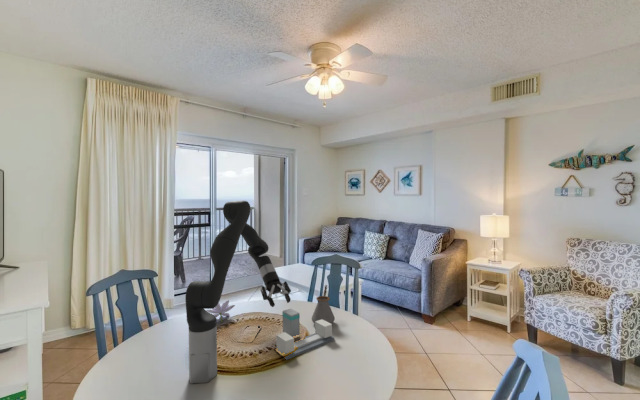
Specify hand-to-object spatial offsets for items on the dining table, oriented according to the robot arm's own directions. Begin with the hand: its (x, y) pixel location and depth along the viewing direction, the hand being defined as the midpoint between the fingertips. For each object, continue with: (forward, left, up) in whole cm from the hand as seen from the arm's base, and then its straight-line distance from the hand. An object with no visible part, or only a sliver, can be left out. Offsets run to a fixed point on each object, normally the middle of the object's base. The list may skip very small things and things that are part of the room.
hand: (281, 304), depth 140 cm
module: (-7, -4, -12) cm, 15 cm away
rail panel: (-16, -10, -12) cm, 23 cm away
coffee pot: (+9, -21, -13) cm, 26 cm away
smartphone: (-3, +15, -13) cm, 20 cm away
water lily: (+17, +32, -13) cm, 38 cm away
